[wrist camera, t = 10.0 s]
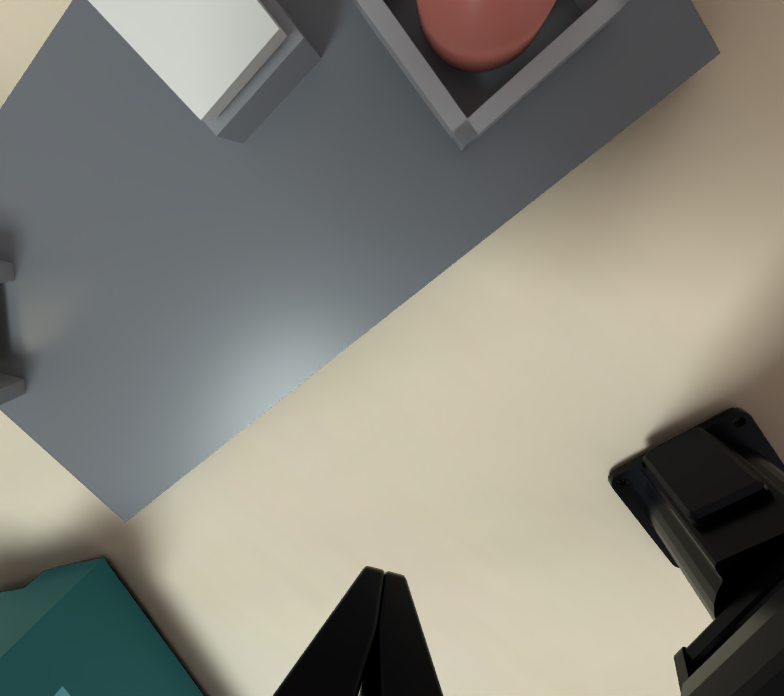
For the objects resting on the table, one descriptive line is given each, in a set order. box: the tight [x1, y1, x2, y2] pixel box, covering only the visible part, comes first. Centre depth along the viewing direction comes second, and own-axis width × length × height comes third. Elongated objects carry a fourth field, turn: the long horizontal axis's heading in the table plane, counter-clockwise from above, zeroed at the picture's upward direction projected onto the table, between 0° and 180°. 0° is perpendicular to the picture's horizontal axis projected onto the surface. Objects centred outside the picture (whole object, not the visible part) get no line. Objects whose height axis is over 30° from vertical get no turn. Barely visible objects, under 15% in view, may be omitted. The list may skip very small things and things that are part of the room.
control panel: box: [0, 0, 720, 522], centre depth 16 cm, size 16×33×4 cm, turn 130°
